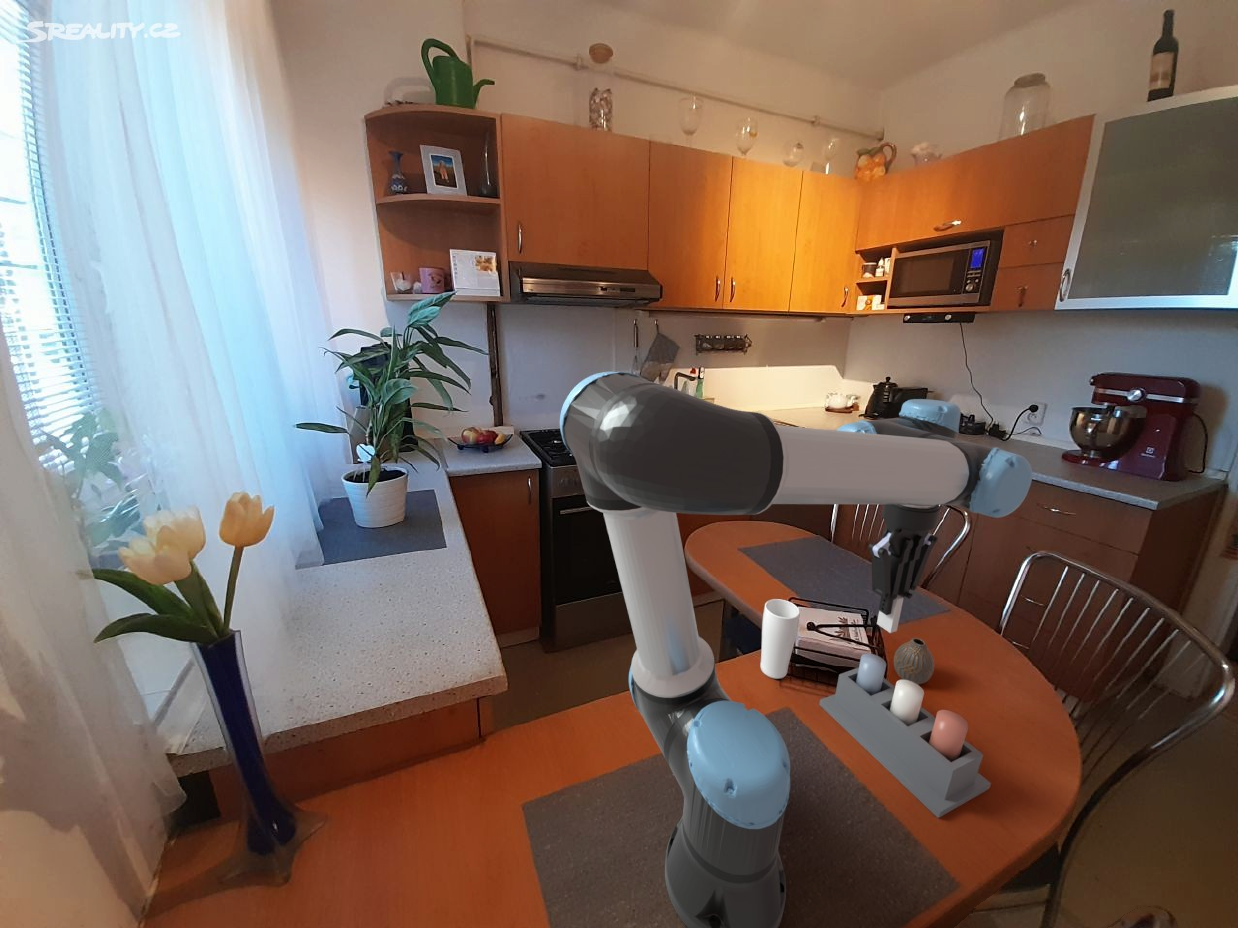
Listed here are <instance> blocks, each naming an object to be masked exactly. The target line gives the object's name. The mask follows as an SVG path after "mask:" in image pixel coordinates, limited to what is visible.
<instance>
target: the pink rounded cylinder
mask: <svg viewBox="0 0 1238 928" xmlns="http://www.w3.org/2000/svg"><path fill="white" fill-rule="evenodd" d="M935 718H936V719H935V723H934V726H933V730H932V733H931V737H930V741H929V745H931V746H932V747H933V748H934V749H935V750H937V751H938V752H939V753H940V754H942V755H943V756H944V757H945V758H946V759H948V760H949V761H950V762H953V761H955V760H957V759H959V756H960V753H961V749H962V746H963V743H964V740H965V738H966V735H967V733H968V730H969V724H968V722H967V720H966V719H964V717H962V715H960V714H958V713H956V712H954V711H951V710H947V709H940V710H938V711H937V712H936V717H935ZM965 741H966V740H965Z"/></svg>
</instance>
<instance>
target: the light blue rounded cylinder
mask: <svg viewBox="0 0 1238 928" xmlns="http://www.w3.org/2000/svg"><path fill="white" fill-rule="evenodd" d="M886 667H887V663H886V661H885V660H884V658H882V657H881V656H878V655H876V654H873V653H863V654H862V655H861V657H860V660H859V670H858V675H857V680H856V684H857V685H858V686H860V687H861V688H862V689H863V690H864V691H866V692H867V693H868V694H869V695H870V696H872V695H874V694H877V693H879V692H880V690H881V686H882V682H883V678H885V677H884V676H885V672H886Z"/></svg>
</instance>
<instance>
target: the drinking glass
mask: <svg viewBox="0 0 1238 928" xmlns="http://www.w3.org/2000/svg"><path fill="white" fill-rule="evenodd" d="M800 614H801V610H800V608H799V607H798V605H796V604H794V603H792V602H791V601H788V600H785V599H779V598H773V599H769V600H767V601H766V602H765V603H764V608H763V614H762V621H761V651H760V652H761V654H760V655H761V656H760V664H759V665H760V666H759V667H760V670H761V672H762V673H763V674H764V675H765V676H767V677H769V678H771V679H776V680H778V679H780V680H781V679H783V678H784V677H785V676H787V674H788V669H789V664H790V660H791V656H792V653H793V649H794V646H795V642H796V639H797V634H798V630H799V624H800Z"/></svg>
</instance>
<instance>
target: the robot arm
mask: <svg viewBox="0 0 1238 928" xmlns="http://www.w3.org/2000/svg"><path fill="white" fill-rule="evenodd" d="M900 409H901V410H900V411H899V413H898V416H899V417H898V416H897V417H894V418H884V419H883V418H881V419H874V420H865V419H863V420H859V421H856V422H852V423H846V424H843V425H842V426H839V428H837V429H836V430H832V429H823V428H812V427H811V428H810V427H809V428H808V427H799V426H791V425H790V426H788V425H778V424H776V423H775V421H774V420H772V419H771V418H770V416H768V415H766V414H764V413H761V412H756V411H748V410H747V411H746V410H739V409H734V408H730V407H726V406H724V405H723V406H722V405H719V404H716V403H712V402H709V401H707V400H704V399H702V398H699V397H697V396H695V395H694V396H693V395H691V394H688V393H686V392H684V391H681V390H679V389H677V388H673V387H670V386H666V385H663V384H659V383H656V382H653V381H650V380H646V379H644V378H642V377H640V376H639V375H637V374H635V373H632V372H627V371H603V372H598V373H594V374H592V375H589V376H588V377H585V378H584V379H582V380H581V381H580V382H579V383H577V385H575V386H574V387H573V389H572V390H570V393H569V394H568V395H567V397H566V398H565V401H564V402H563V405H562V407H561V411H560V415H559V429H560V434H561V438H562V441H563V444H564V445H565V447H566V449H567V450H568V451H569V452H570V454H571V455H572V456H573V457H574V459H575V462H576V466H577V469H578V473H579V476H580V477H579V478H580V481H581V485H582V489H583V492H584V495H585V499H586V503H587V504H588V505H589V506H590V508H593V509H594V510H596V511H598V512H600V513H603V519H604V522H605V526H606V531H607V534H608V537H609V541H610V545H611V546H610V547H611V550H612V554H613V559H614V561H615V566H616V569H617V573H618V579H619V582H620V586H621V590H622V594H623V598H624V602H625V605H626V609H627V610H626V611H627V614H628V617H629V621H630V625H631V629H632V633H633V637H634V641H635V646H636V649H635V652H634V654H633V655H632V656H633V657H632V658H631V665H630V668H629V672H628V686H629V687H628V688H629V691H630V694H631V698H632V701H633V703H634V706H635V707H636V709H637V711H638V712H639V714H640V715H641V717H642V718H643V720H644V722H645V724H646V726H647V727H648V730H649V731H650V732H651V734H652V736H653V739H654V740H655V743H656V744H657V746H658V748H659V750H660V751H661V753H662V755H663V757H664V759H665V761H666V763H667V764H668V766H669V768H670V770H671V772H672V774H673V776H674V778H675V779H676V781H677V783H678V785H679V787H680V790H681V791H682V795H683V810H682V816H681V818H680V819H679V821H678V823H677V824H676V826H675V828H674V829H673V831H672V832H671V835H670V837H669V839H668V843H667V847H666V852H665V859H664V860H665V861H664V879H665V886H666V890H667V893H668V897H669V899H670V902H671V904H672V906H673V908H674V910H675V912H676V914H677V915H678V917H679V919H680V920H681V921H682V923H683V924H684V926H685V927H687V928H779V926H780V924H781V921H782V918H783V913H784V911H785V910H784V909H785V906H786V905H785V904H786V897H787V881H786V874H785V870H784V867H783V862H782V859H781V855H780V851H779V846H780V842H781V838H782V837H781V836H782V831H783V825H784V820H785V815H786V811H787V805H788V803H789V797H790V791H791V776H790V774H791V759H790V754H789V751H788V748H787V745H786V743H785V741H784V738H783V736H782V735H781V733H780V732H779V730H778V729H777V728H776V726H775V725H774V724H773V723H772V722H771V720H770V719H769V718H767V717H766V716H765V715H764V714H763V713H762V712H760V711H758V709H755V708H751V709H747V708H746V704H744V703H742V702H737V701H733V700H732V699H731V698H730V696H729V695H728V694H727V693H726V692H725V690H724V689H723V687H722V686H721V684H720V681H719V679H718V675H717V668H716V662H715V657H714V654H713V653H714V652H713V650H712V648H711V647H710V645H709V644H708V642H706V641H705V640H704V639H703V638H702V637H700V636H699V632H698V628H697V627H698V626H697V620H696V616H695V610H694V604H693V598H692V594H691V588H690V583H689V578H688V571H687V567H686V565H687V564H686V561H685V556H684V555H685V554H684V549H683V543H682V539H681V533H680V527H679V521H678V517H677V514H687V515H688V514H689V515H712V516H713V515H715V516H743V515H745V516H747V515H748V516H749V515H750V516H751V515H759V514H761V513H763V512H765V511H766V510H768V509H769V508H770V507H771V506H772V505H883V507H882V512H881V518H882V519H883V521H884V523H885V525H886V526H885V528H884V530H883V532H882V535H881V537H882V539H881V540H880V541H879V542H878V543H875V542H871V543H870V544H869V545H868V550H869V553H870V555H871V582H872V583H871V586H872V588H871V590H872V592H873V593H876V594H878V595H879V596H880V601H879V607H878V615H877V616H878V617H877V622H876V625H878V627H881V628H882V629H884V630H885V631H887V633H889V634H892V633H894V632H895V633H896V632H897V631H898V628H899V627H898V626H899V623H900V618H901V612H902V610H903V606H904V601H905V598H906V599H909V600H910V599H911V598H913V593H911V592H910V591H913V592H914V591H915V590H916V589H917V588H918V585H919V582H920V580H921V577H922V575H923V573H924V570H925V569H926V565H927V562H928V560H929V557H930V554H931V553H932V550H933V549H934V548H935V545H936V544H937V543H938V540H939V537H938V536H936V535H934V534H932V533H930V531H932V530H934V529H935V528H936V527H937V525H938V522H939V521H938V520H939V516H940V511H941V507H940V506H957V507H960V508H963V509H966V510H969V512H970V513H973V514H980V515H984V516H987V517H991V518H997V519H998V518H1003V517H1006V516H1008V515H1010V514H1012V513H1013V512H1014V511H1016V509H1018V508H1019V507H1020V506H1021V505H1022V503H1024V501H1025V498H1026V497H1027V495H1028V492H1029V490H1030V487H1031V486H1032V485H1031V484H1032V482H1033V481H1032V480H1033V469H1032V466H1031V463H1030V462H1029V461H1028V460H1027V459H1026V458H1025V457H1024V456H1023V455H1020V454H1017V453H1014V452H1010V451H1008V450H1004V449H1001V448H1000V447H997V446H996V447H992V446H988V445H983V444H979V443H974V442H971V441H967V440H963V439H959V438H957V437H958V435H959V434H960V431H959V428H960V419H961V414H962V413H961V412H962V411H961V408H960V407H959V406H958V405H957V404H956V403H954V402H953V403H952V402H949V401H944V400H937V399H928V398H924V399H923V398H917V399H916V398H913V399H908V400H907V401H905V402H903V403H902V405H901V408H900Z"/></svg>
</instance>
